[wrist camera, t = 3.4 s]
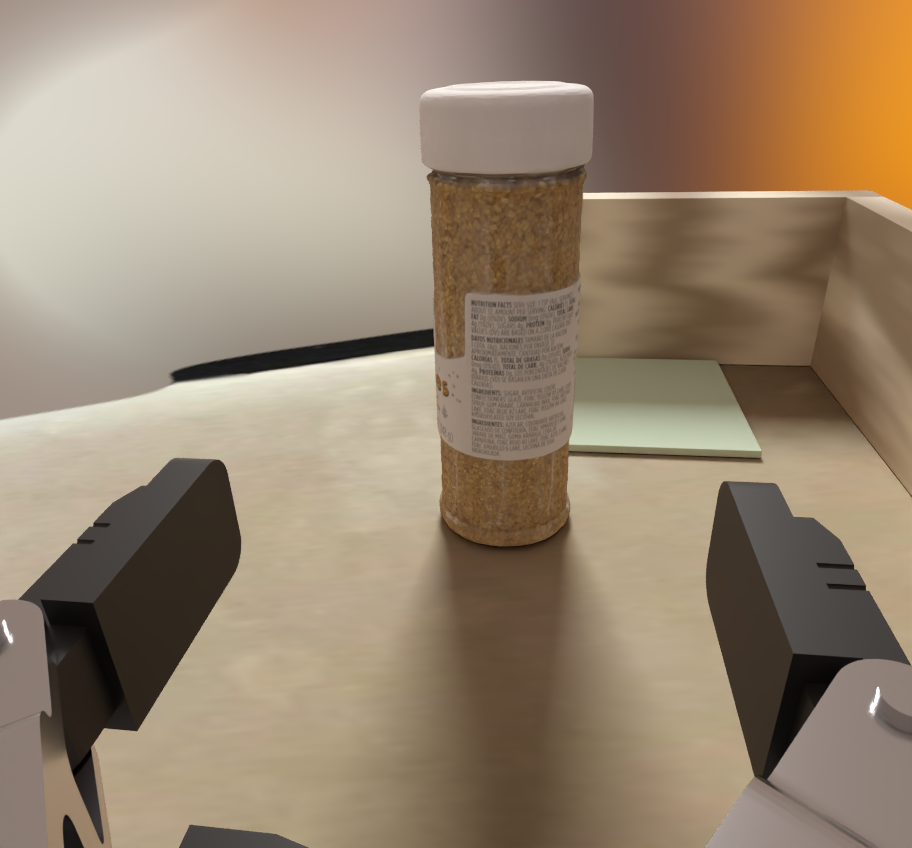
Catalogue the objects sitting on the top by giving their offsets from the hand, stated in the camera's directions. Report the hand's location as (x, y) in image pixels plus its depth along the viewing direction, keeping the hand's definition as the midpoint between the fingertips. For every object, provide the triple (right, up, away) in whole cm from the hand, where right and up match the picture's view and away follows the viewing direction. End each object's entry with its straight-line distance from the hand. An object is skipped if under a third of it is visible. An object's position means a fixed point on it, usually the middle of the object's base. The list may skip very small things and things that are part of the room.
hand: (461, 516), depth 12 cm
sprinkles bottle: (+2, -2, +13) cm, 13 cm away
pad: (+8, +2, +20) cm, 22 cm away
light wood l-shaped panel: (+9, +1, +18) cm, 20 cm away
